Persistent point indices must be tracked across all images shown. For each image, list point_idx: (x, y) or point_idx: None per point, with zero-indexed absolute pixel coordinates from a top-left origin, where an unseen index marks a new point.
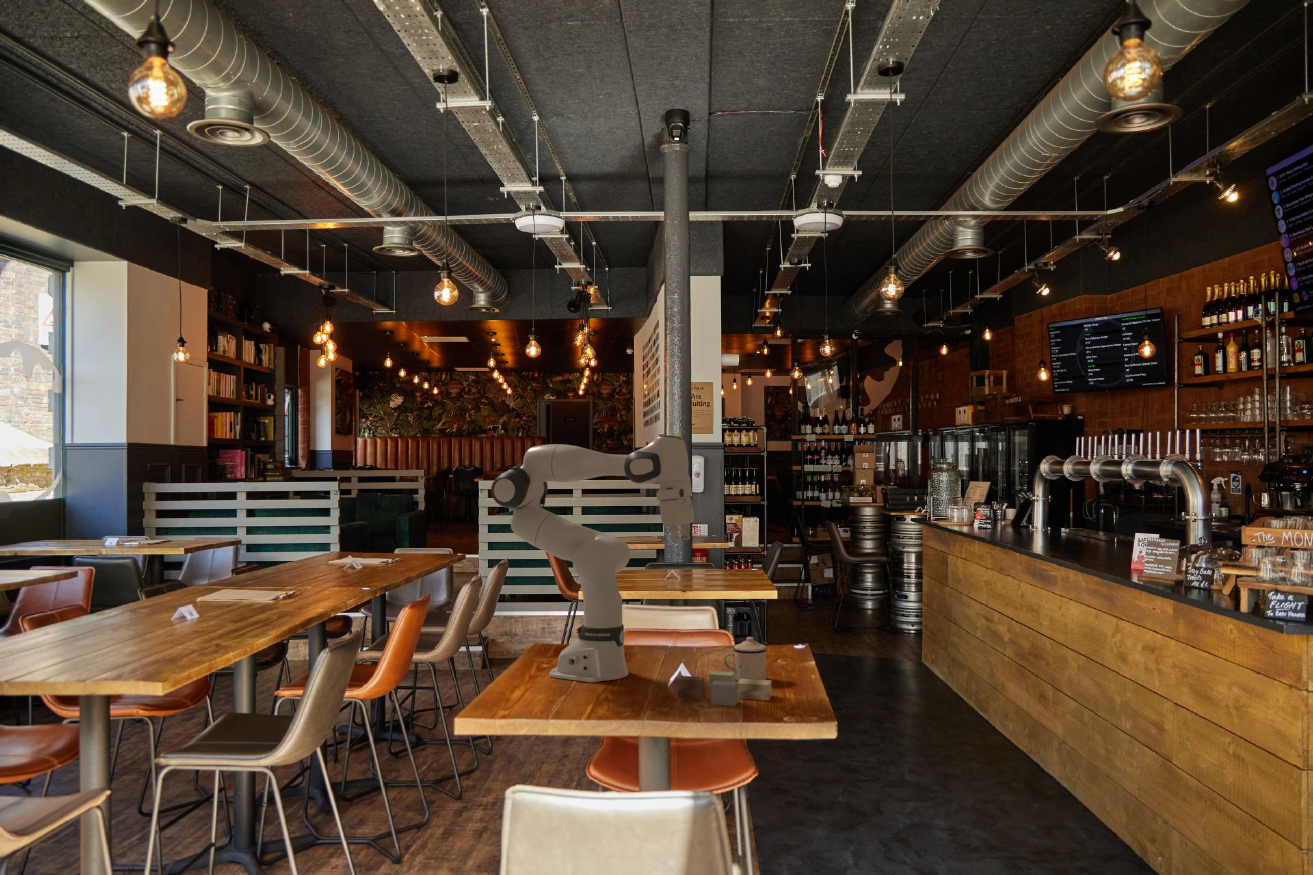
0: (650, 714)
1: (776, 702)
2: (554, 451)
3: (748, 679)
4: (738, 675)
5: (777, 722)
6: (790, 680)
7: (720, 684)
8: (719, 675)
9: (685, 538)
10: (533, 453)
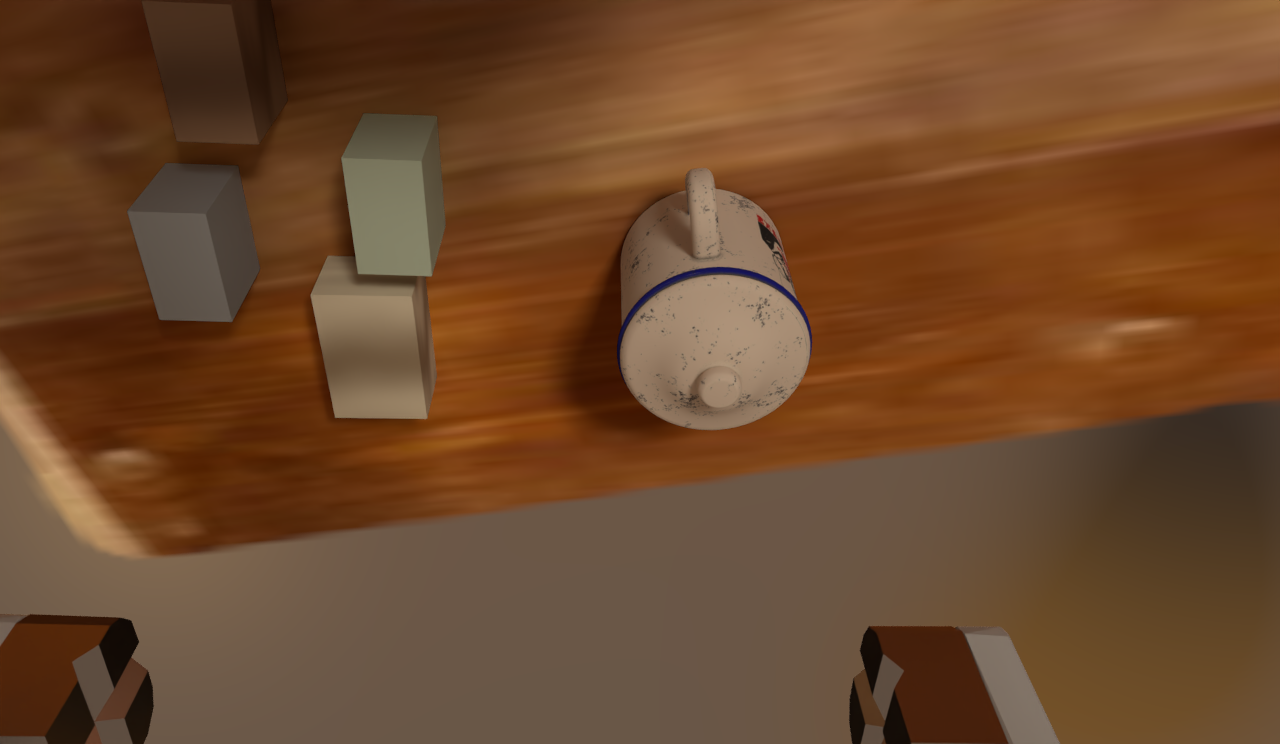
0: None
1: (329, 405)
2: None
3: (408, 329)
4: (641, 227)
5: (54, 439)
6: None
7: (149, 255)
8: (349, 211)
9: (876, 698)
10: None
